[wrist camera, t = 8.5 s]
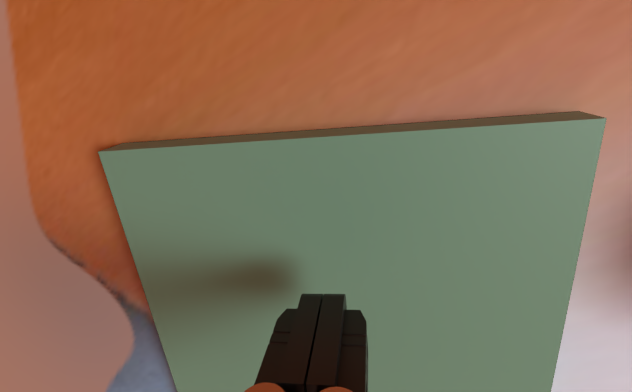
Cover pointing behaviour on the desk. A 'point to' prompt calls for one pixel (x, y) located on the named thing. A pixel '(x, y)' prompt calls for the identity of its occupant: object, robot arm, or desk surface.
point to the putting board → (365, 244)
